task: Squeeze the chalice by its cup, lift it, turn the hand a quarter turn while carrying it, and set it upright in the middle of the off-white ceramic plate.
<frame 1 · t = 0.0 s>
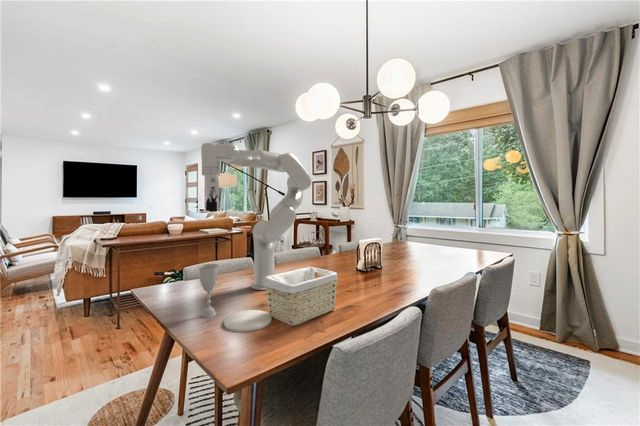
hand: (211, 211, 135), 37 cm above the table, tool pointing down, fingers open, 9 cm apart
storage basket: (302, 313, 115), on the table
chalice: (208, 315, 113), on the table
plate: (248, 321, 107), on the table
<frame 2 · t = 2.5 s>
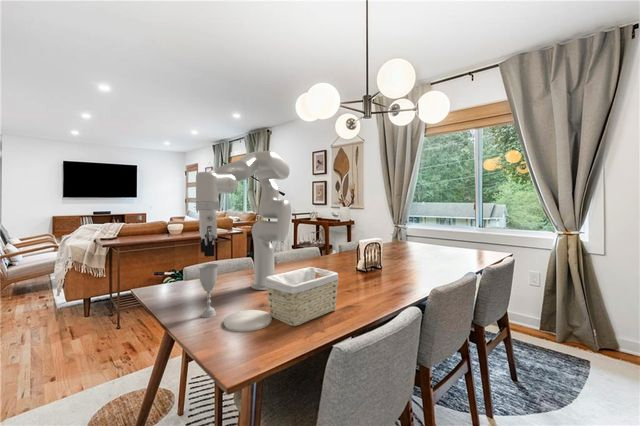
hand: (207, 254, 111), 22 cm above the table, tool pointing down, fingers open, 9 cm apart
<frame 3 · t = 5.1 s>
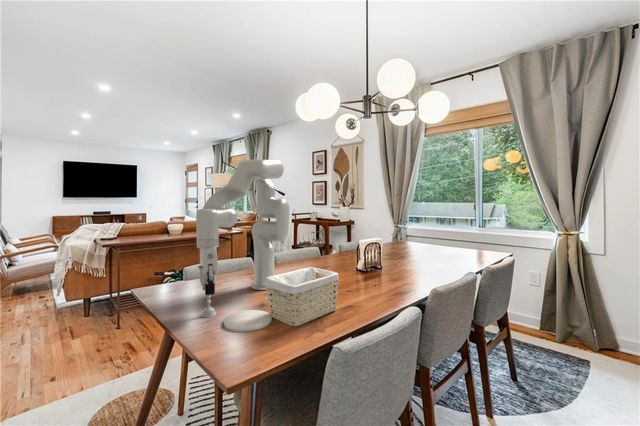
hand: (208, 291, 112), 9 cm above the table, tool pointing down, fingers closed on chalice, 6 cm apart
chalice: (208, 315, 113), on the table, touching gripper
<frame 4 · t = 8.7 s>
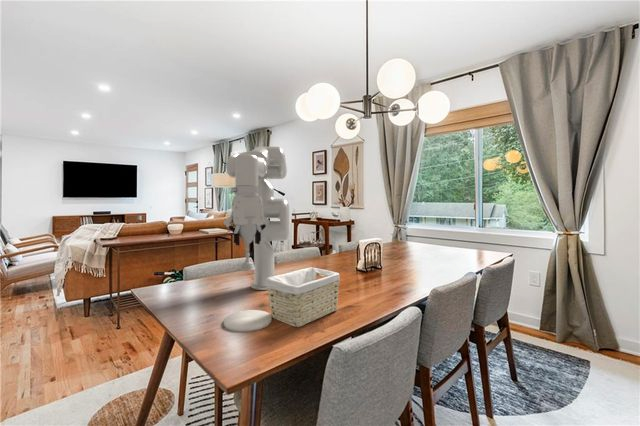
hand: (247, 243, 105), 27 cm above the table, tool pointing down, fingers closed on chalice, 6 cm apart
chalice: (247, 269, 106), point 18 cm above the table, touching gripper
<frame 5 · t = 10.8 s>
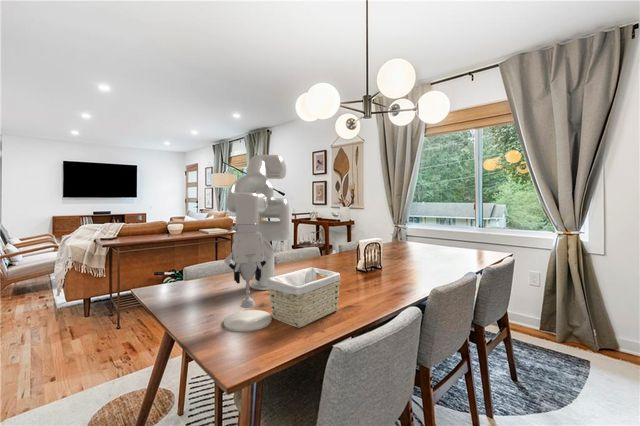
hand: (247, 280, 106), 14 cm above the table, tool pointing down, fingers closed on chalice, 6 cm apart
chalice: (247, 306, 106), point 6 cm above the table, touching gripper
when the fingers open (11 cm above the table, at t = 12.4 s): chalice drops 2 cm, resting on plate.
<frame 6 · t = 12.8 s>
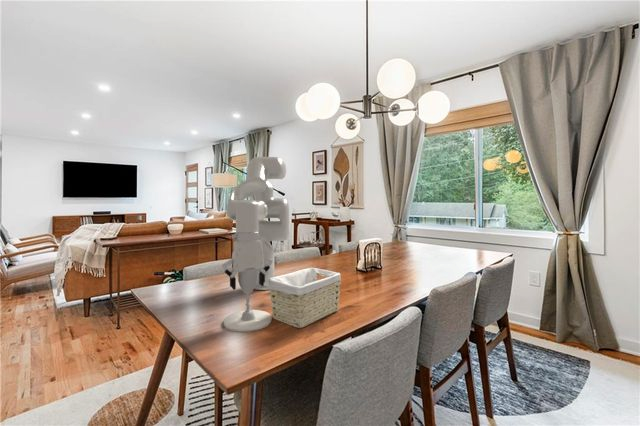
hand: (247, 286, 106), 12 cm above the table, tool pointing down, fingers open, 9 cm apart
chalice: (248, 318, 107), point 1 cm above the table, touching plate
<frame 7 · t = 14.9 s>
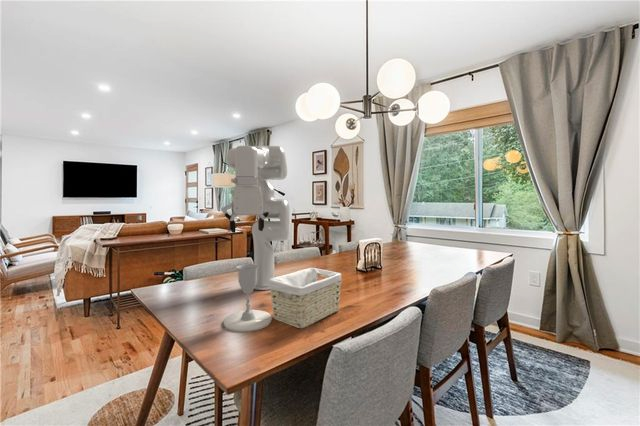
hand: (247, 231, 108), 31 cm above the table, tool pointing down, fingers open, 9 cm apart
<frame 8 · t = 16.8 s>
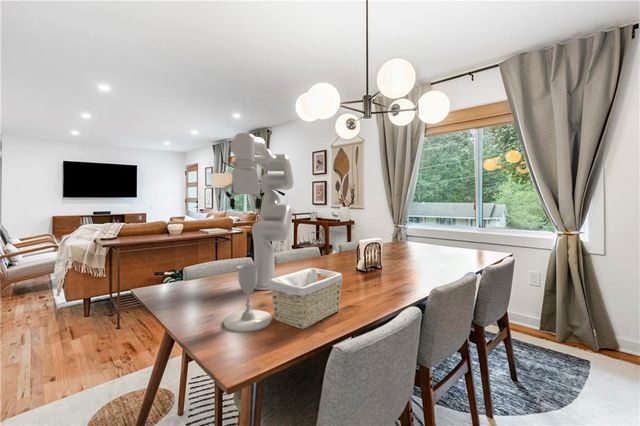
hand: (245, 209, 122), 38 cm above the table, tool pointing down, fingers open, 9 cm apart
at the end: chalice 0.3 cm from the plate (horizontally); chalice tilted 0°; the gripper is holding nothing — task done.
